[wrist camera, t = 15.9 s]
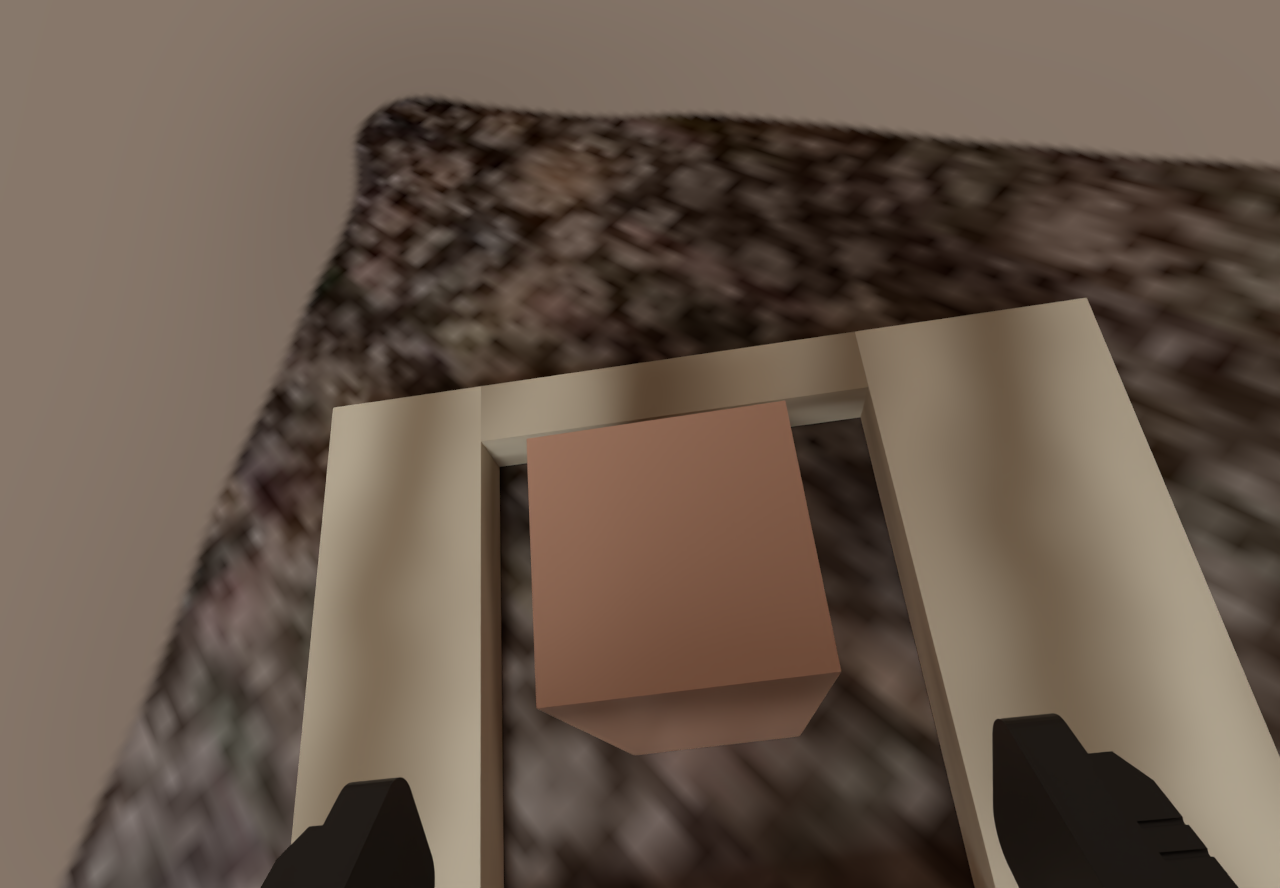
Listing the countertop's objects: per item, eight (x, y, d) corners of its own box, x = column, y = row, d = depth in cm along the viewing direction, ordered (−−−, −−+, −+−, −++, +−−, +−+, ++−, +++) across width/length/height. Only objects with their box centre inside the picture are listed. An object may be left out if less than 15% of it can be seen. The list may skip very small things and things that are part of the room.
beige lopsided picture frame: (1062, 333, 25) (1086, 297, 24) (1323, 996, 18) (1389, 1017, 16) (360, 434, 27) (333, 407, 25) (311, 1073, 19) (266, 1100, 18)
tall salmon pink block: (771, 574, 23) (785, 400, 13) (799, 736, 21) (841, 671, 11) (620, 594, 24) (526, 438, 14) (634, 755, 22) (536, 708, 12)
